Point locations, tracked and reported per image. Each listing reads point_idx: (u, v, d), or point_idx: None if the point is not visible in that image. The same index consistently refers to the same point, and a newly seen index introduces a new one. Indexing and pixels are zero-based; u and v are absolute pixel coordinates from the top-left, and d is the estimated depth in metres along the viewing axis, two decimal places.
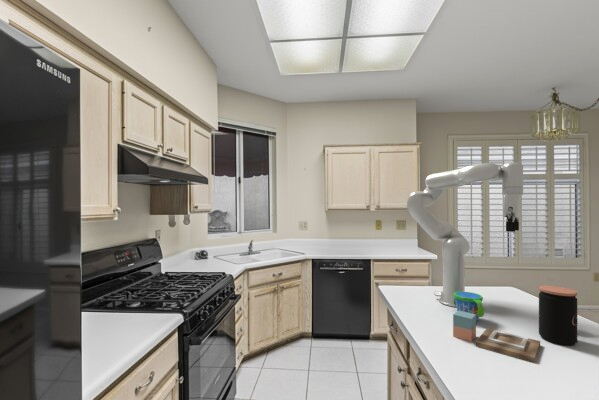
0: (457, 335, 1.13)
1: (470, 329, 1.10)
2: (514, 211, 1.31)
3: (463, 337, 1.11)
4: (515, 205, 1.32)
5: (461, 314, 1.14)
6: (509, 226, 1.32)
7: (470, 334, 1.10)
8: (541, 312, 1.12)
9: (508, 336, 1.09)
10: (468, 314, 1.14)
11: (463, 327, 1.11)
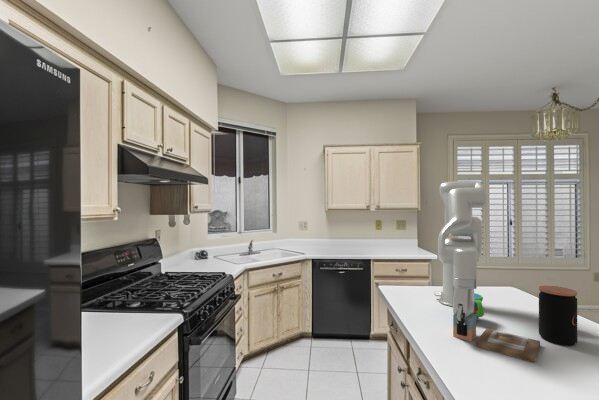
0: (457, 335, 1.13)
1: (470, 329, 1.10)
2: (465, 310, 1.09)
3: (463, 337, 1.11)
4: (466, 303, 1.09)
5: None
6: (460, 329, 1.11)
7: (471, 334, 1.10)
8: (541, 312, 1.12)
9: (508, 336, 1.09)
10: None
11: None
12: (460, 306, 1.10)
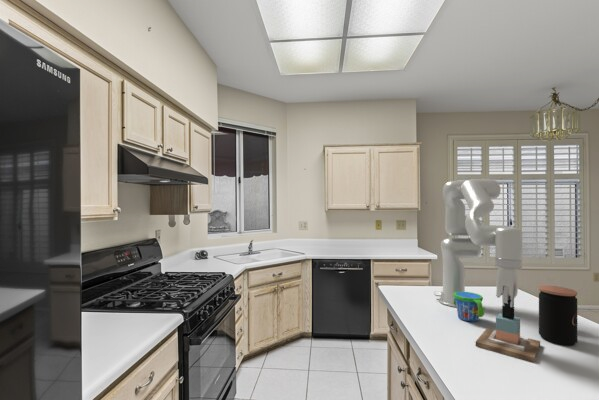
0: (500, 339, 1.05)
1: (516, 333, 1.02)
2: (510, 292, 1.02)
3: None
4: (511, 285, 1.02)
5: None
6: (506, 312, 1.06)
7: (516, 339, 1.02)
8: (541, 312, 1.12)
9: None
10: None
11: (507, 331, 1.04)
12: (505, 290, 1.03)
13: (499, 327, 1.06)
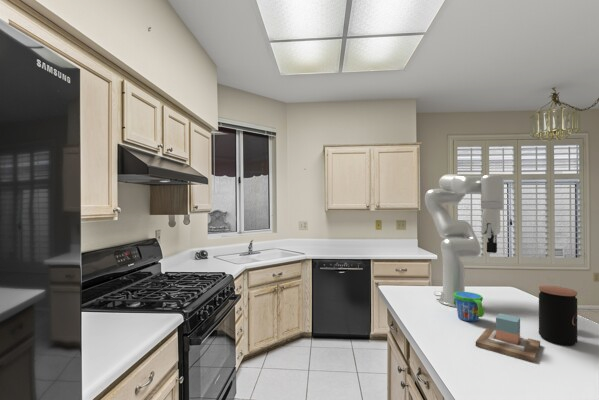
0: (500, 339, 1.05)
1: (516, 333, 1.03)
2: (493, 228, 1.19)
3: None
4: (494, 222, 1.19)
5: (504, 317, 1.07)
6: (490, 247, 1.23)
7: (516, 339, 1.02)
8: (541, 312, 1.12)
9: None
10: (512, 317, 1.07)
11: (507, 331, 1.04)
12: (489, 227, 1.21)
13: (499, 327, 1.06)
